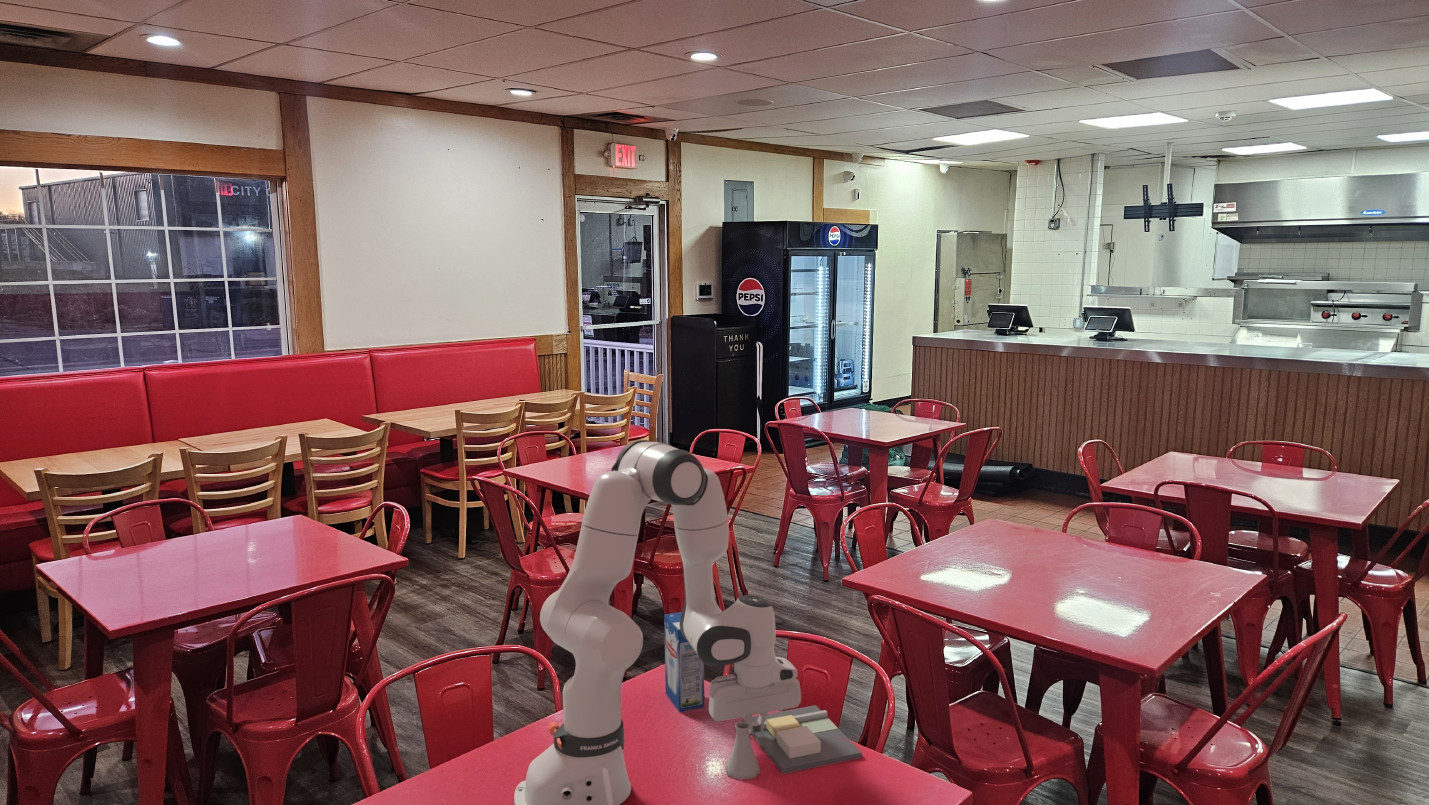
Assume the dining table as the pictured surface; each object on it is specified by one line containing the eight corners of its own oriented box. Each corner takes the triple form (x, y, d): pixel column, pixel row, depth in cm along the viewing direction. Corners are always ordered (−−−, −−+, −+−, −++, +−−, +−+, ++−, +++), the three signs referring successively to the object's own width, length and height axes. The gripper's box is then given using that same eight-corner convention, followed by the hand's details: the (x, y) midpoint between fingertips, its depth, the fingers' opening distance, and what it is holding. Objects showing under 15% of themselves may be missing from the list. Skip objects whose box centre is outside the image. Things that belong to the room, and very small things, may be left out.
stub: (775, 739, 195) (775, 730, 194) (766, 728, 199) (766, 719, 199) (801, 734, 196) (801, 725, 196) (791, 723, 201) (791, 714, 201)
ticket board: (782, 774, 184) (782, 757, 183) (743, 723, 204) (743, 708, 204) (861, 757, 190) (861, 741, 189) (815, 710, 210) (815, 695, 210)
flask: (757, 782, 181) (757, 735, 180) (722, 778, 183) (721, 732, 181) (763, 763, 188) (763, 718, 187) (728, 759, 190) (728, 714, 188)
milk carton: (704, 707, 212) (703, 625, 209) (679, 712, 210) (678, 629, 207) (689, 689, 221) (688, 610, 218) (665, 693, 219) (664, 614, 216)
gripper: (713, 684, 188) (714, 747, 190) (804, 669, 194) (803, 730, 196) (704, 672, 194) (704, 732, 196) (792, 657, 200) (791, 716, 202)
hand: (755, 731), depth 196 cm, fingers closed
